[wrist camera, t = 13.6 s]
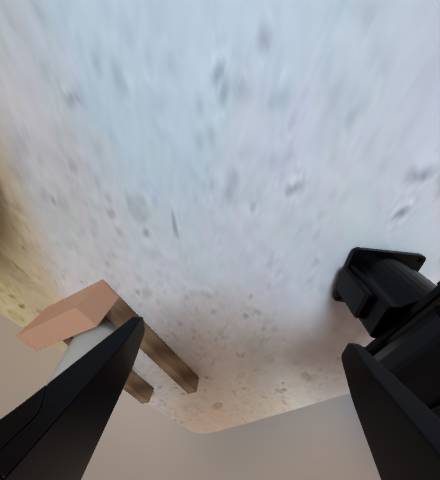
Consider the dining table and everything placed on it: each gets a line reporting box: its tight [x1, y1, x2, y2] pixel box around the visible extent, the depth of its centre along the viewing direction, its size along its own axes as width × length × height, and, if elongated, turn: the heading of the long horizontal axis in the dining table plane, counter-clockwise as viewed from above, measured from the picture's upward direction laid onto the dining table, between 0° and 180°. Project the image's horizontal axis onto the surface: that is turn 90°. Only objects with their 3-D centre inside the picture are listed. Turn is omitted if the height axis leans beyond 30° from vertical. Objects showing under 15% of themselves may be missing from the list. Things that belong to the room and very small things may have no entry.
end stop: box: [16, 280, 119, 351], centre depth 24 cm, size 3×11×4 cm, turn 120°
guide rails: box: [62, 297, 199, 403], centre depth 29 cm, size 19×11×2 cm, turn 30°
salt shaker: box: [46, 316, 118, 385], centre depth 22 cm, size 6×6×13 cm
